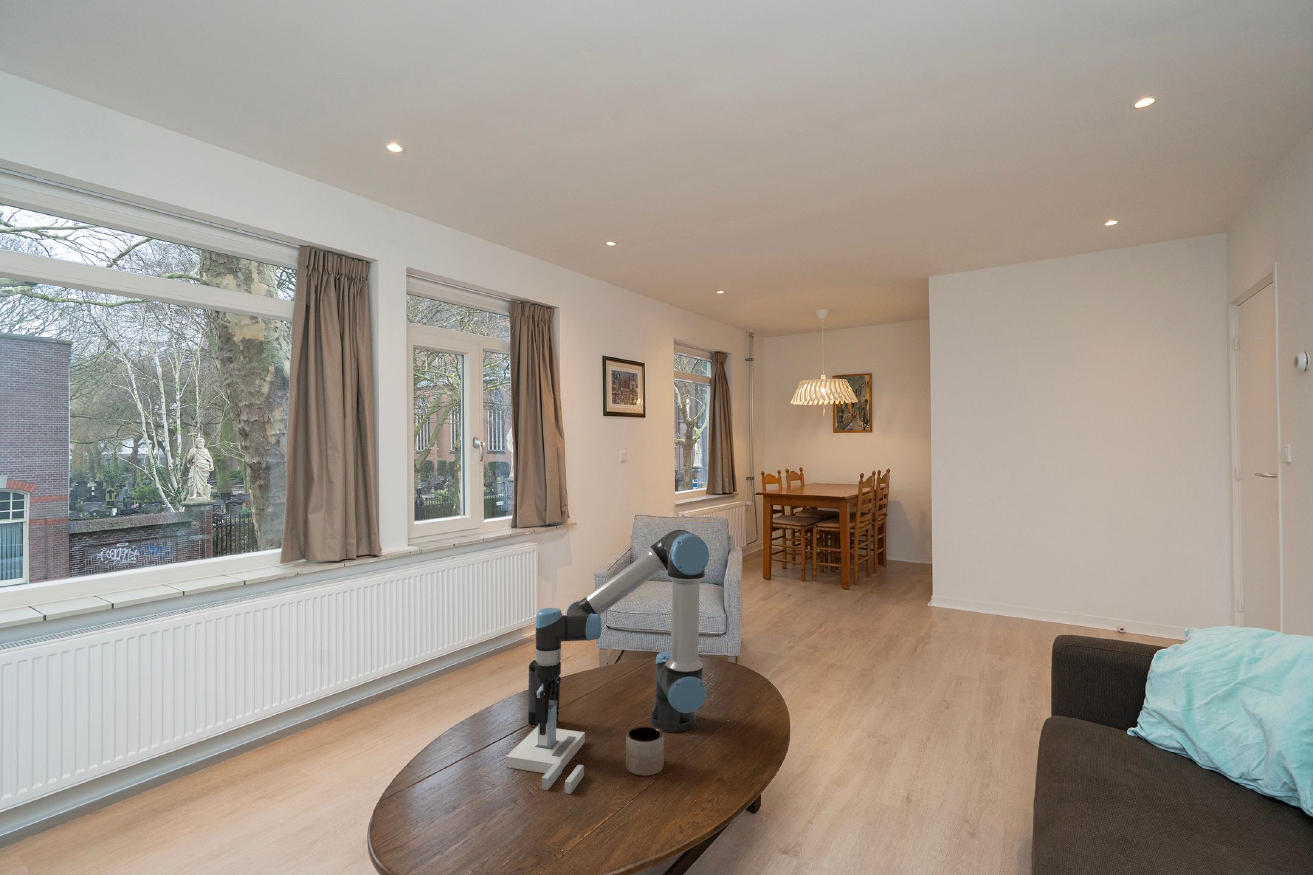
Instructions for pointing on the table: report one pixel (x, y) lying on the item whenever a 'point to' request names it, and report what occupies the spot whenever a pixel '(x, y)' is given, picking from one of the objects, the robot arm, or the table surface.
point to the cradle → (570, 781)
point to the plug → (550, 725)
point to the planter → (644, 750)
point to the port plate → (545, 751)
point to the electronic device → (533, 686)
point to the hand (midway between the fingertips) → (547, 740)
